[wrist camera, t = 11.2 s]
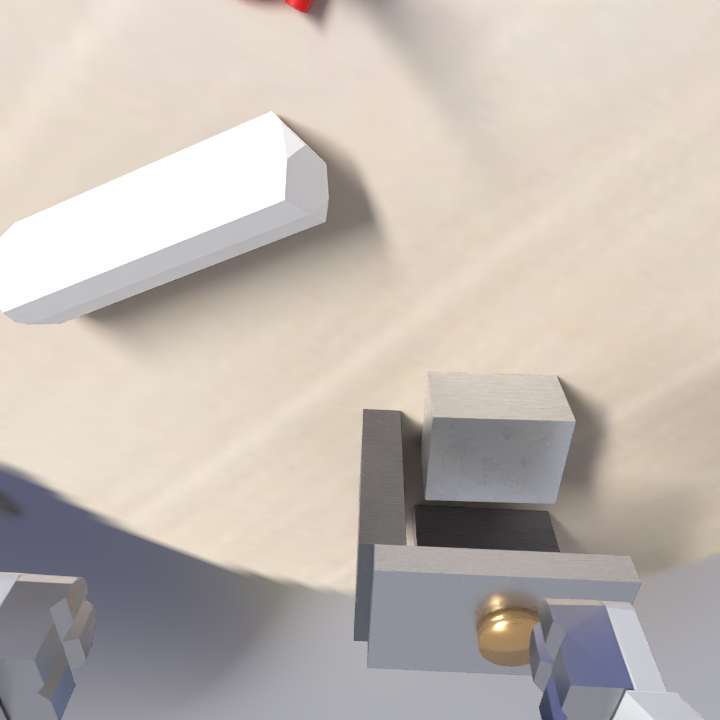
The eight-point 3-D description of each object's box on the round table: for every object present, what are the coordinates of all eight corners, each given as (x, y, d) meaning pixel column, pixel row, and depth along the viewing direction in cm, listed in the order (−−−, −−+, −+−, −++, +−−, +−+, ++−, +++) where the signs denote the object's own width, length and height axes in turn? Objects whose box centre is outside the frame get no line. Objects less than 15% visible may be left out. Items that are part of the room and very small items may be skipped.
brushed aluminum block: (427, 370, 50) (433, 417, 44) (562, 374, 49) (583, 421, 44) (420, 449, 54) (424, 499, 49) (544, 452, 54) (561, 504, 49)
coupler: (363, 409, 51) (356, 586, 37) (572, 418, 51) (648, 599, 37) (358, 514, 58) (351, 700, 43) (544, 523, 58) (599, 712, 43)
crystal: (50, 365, 46) (360, 251, 40) (-36, 318, 39) (315, 176, 34) (57, 282, 49) (342, 168, 44) (-21, 228, 43) (299, 87, 38)
